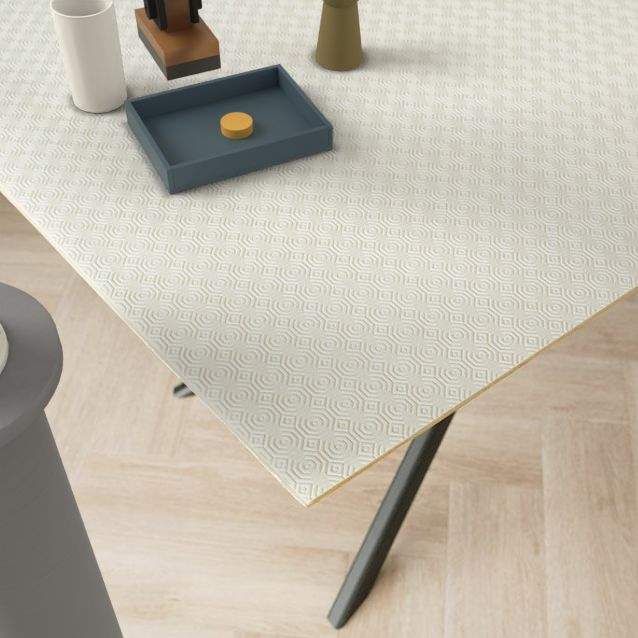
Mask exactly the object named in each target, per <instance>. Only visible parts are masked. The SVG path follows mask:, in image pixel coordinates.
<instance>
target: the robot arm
mask: <svg viewBox="0 0 638 638" xmlns="http://www.w3.org/2000/svg"><path fill="white" fill-rule="evenodd" d="M142 1H143V7H144V9H145V13H146V16H147V18H148V19H149V20H151V19H153V21H154V22H155V24H156V25H157V27H158V28H159V29H160V31H163V30H166V28H168V25H167V18H166V10H165V2H164V0H142ZM189 5H190V14H191V23H194V24H195V23H199V16H200V14H199V10H202V9H203V1H202V0H189ZM8 352H9V344H8V341H7V337H6V334H5V332H4V329H3V327H2V325H1V324H0V374H1V372H2V370H3V368H4V367H5V365H6V361H7V358H8Z"/></svg>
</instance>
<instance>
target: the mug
mask: <svg viewBox="0 0 638 638" xmlns="http://www.w3.org/2000/svg"><path fill="white" fill-rule="evenodd" d="M49 7H50V11H51V17H52V20H53V26H54V30H55V33H56V37H57V41H58V45H59V50H60V54H61V57H62V62H63V66H64V69H65V75H66V78H67V83H68V86H69V90H70V93H71V97H72V100H73V103H74V105H75V107H76V108H78V109H79V110H81V111H84V112H86V113H93V114H100V113H101V114H102V113H109V112H111V111H115V110H116V109H118V108H120V107H122V106H123V105H124V101H125V100H128V99H127V98H128V91H127V84H126V83H127V82H126V77H125V76H126V75H125V68H124V62H123V53H122V47H121V41H120V34H119V26H118V19H117V13H116V8H115V3H114V0H50V2H49Z"/></svg>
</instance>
